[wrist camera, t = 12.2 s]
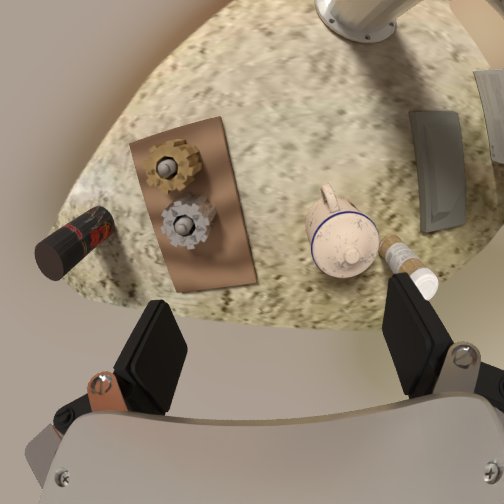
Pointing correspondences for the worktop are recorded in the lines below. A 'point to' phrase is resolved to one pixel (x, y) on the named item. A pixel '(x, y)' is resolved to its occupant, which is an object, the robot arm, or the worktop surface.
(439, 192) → the soap mold
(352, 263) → the teacup with lid
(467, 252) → the worktop surface
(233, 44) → the worktop surface
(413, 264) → the sprinkles bottle
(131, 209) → the worktop surface
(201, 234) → the silver gear
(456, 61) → the worktop surface
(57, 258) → the deodorant
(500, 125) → the supplement box
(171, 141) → the gear board
